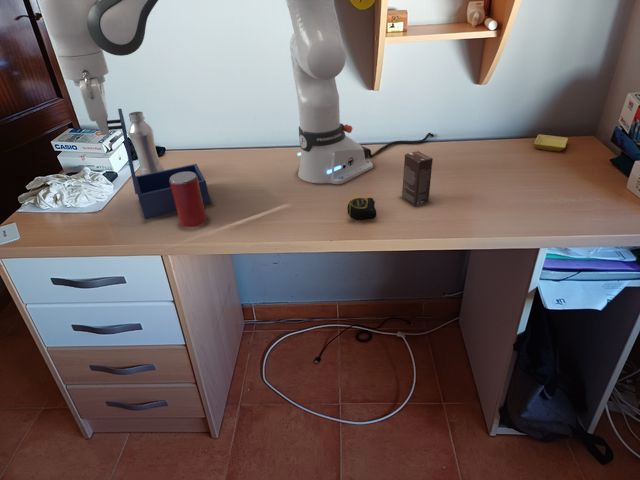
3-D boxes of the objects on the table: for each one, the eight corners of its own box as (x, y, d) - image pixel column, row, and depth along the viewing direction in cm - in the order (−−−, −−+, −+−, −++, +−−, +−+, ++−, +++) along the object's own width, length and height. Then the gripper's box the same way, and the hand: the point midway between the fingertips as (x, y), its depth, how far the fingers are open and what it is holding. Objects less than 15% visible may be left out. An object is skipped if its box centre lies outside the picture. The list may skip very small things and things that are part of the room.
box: (429, 202, 113) (433, 158, 106) (414, 207, 111) (418, 162, 105) (415, 193, 117) (418, 150, 111) (401, 197, 116) (403, 153, 109)
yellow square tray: (563, 154, 133) (565, 147, 132) (532, 149, 137) (533, 143, 136) (566, 144, 140) (568, 137, 138) (536, 140, 143) (538, 134, 142)
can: (201, 213, 114) (191, 168, 107) (210, 223, 110) (200, 177, 103) (177, 221, 111) (164, 176, 104) (185, 232, 107) (173, 185, 100)
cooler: (201, 187, 127) (196, 163, 123) (211, 205, 117) (205, 180, 113) (141, 201, 122) (133, 176, 118) (145, 221, 112) (137, 195, 108)
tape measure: (376, 223, 106) (376, 209, 104) (347, 224, 106) (347, 210, 104) (374, 209, 111) (375, 195, 109) (347, 209, 112) (347, 196, 110)
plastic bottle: (159, 185, 130) (140, 117, 119) (138, 184, 131) (118, 117, 120) (169, 175, 135) (152, 109, 124) (149, 174, 136) (131, 109, 126)
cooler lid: (121, 108, 109) (97, 110, 107) (124, 122, 99) (98, 125, 97) (134, 174, 118) (112, 177, 116) (139, 193, 108) (115, 197, 106)
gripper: (101, 74, 89) (122, 140, 97) (99, 57, 105) (117, 115, 113) (67, 78, 87) (91, 146, 95) (70, 61, 103) (90, 119, 111)
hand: (105, 129), depth 104 cm, fingers closed on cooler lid, 6 cm apart
